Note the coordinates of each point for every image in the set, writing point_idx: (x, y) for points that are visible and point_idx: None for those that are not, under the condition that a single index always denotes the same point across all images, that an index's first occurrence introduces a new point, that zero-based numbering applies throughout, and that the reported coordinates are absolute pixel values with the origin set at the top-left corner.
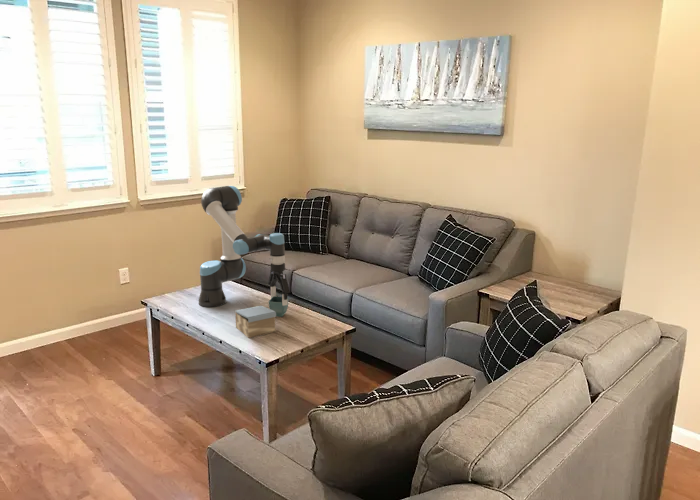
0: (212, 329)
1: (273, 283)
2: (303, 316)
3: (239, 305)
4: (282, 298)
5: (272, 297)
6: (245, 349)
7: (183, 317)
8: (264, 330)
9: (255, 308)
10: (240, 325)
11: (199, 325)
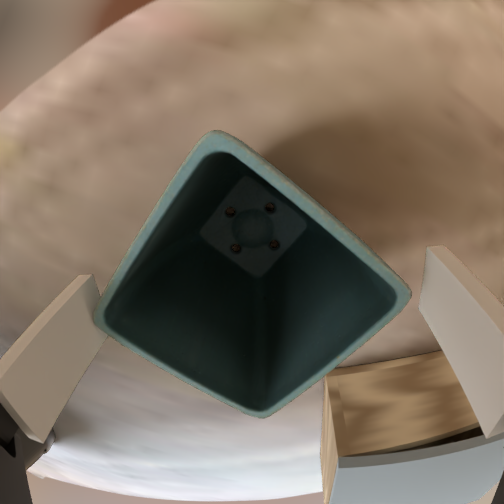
0: (288, 490)
1: (9, 479)
2: (384, 46)
3: None
4: (466, 372)
5: (134, 350)
6: None
7: (143, 495)
8: None
9: (382, 491)
10: None
11: (229, 499)
